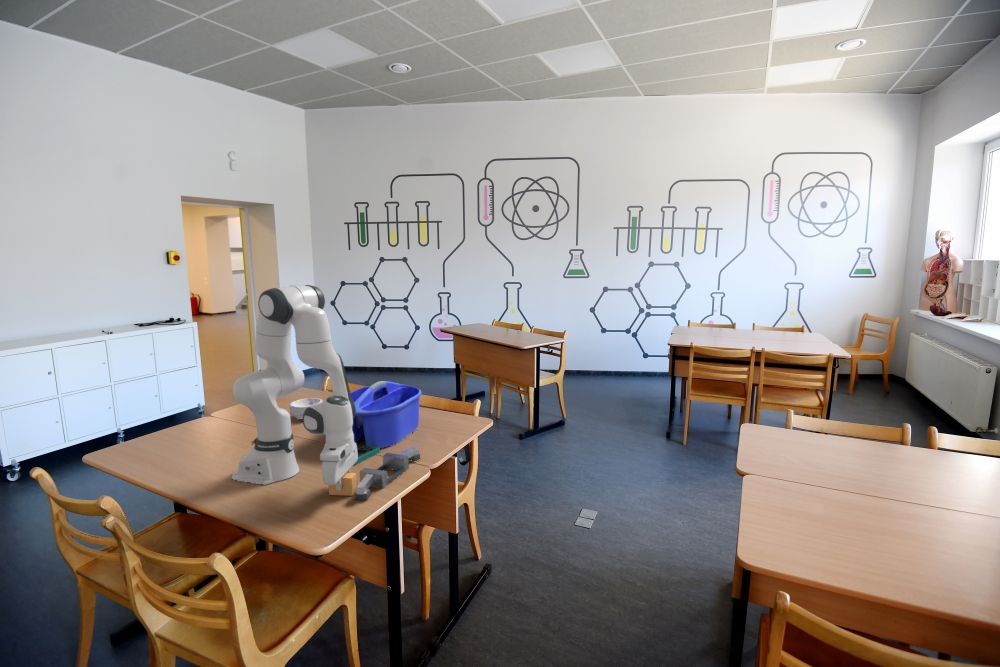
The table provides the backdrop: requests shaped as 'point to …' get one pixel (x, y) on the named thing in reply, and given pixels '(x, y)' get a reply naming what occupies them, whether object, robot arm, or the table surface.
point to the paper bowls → (302, 406)
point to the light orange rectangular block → (345, 485)
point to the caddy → (385, 413)
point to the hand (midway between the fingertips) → (342, 485)
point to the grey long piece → (379, 476)
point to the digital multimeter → (366, 452)
